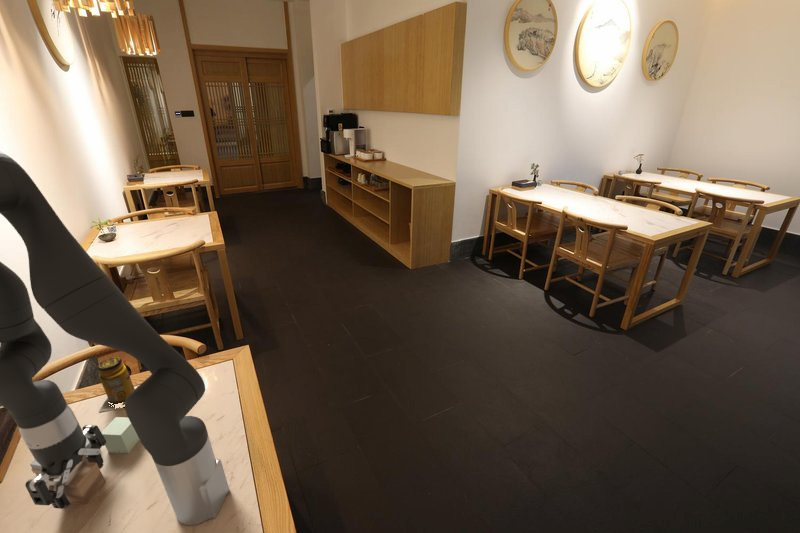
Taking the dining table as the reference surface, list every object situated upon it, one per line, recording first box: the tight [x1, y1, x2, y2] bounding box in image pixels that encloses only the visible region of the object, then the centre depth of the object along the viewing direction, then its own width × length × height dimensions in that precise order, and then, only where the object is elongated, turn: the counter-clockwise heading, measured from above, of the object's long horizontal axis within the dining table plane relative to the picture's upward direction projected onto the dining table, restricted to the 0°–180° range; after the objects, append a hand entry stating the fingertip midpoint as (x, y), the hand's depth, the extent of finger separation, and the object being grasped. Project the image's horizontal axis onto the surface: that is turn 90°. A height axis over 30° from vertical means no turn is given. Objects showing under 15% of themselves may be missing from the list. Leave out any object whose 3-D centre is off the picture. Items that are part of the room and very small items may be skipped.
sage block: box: [101, 416, 140, 454], centre depth 88 cm, size 5×5×6 cm
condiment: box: [96, 356, 139, 413], centre depth 99 cm, size 7×8×12 cm
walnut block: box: [54, 461, 106, 505], centre depth 77 cm, size 5×5×6 cm
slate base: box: [29, 438, 91, 479], centre depth 84 cm, size 8×8×4 cm
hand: (82, 485), depth 77 cm, fingers open, 8 cm apart
